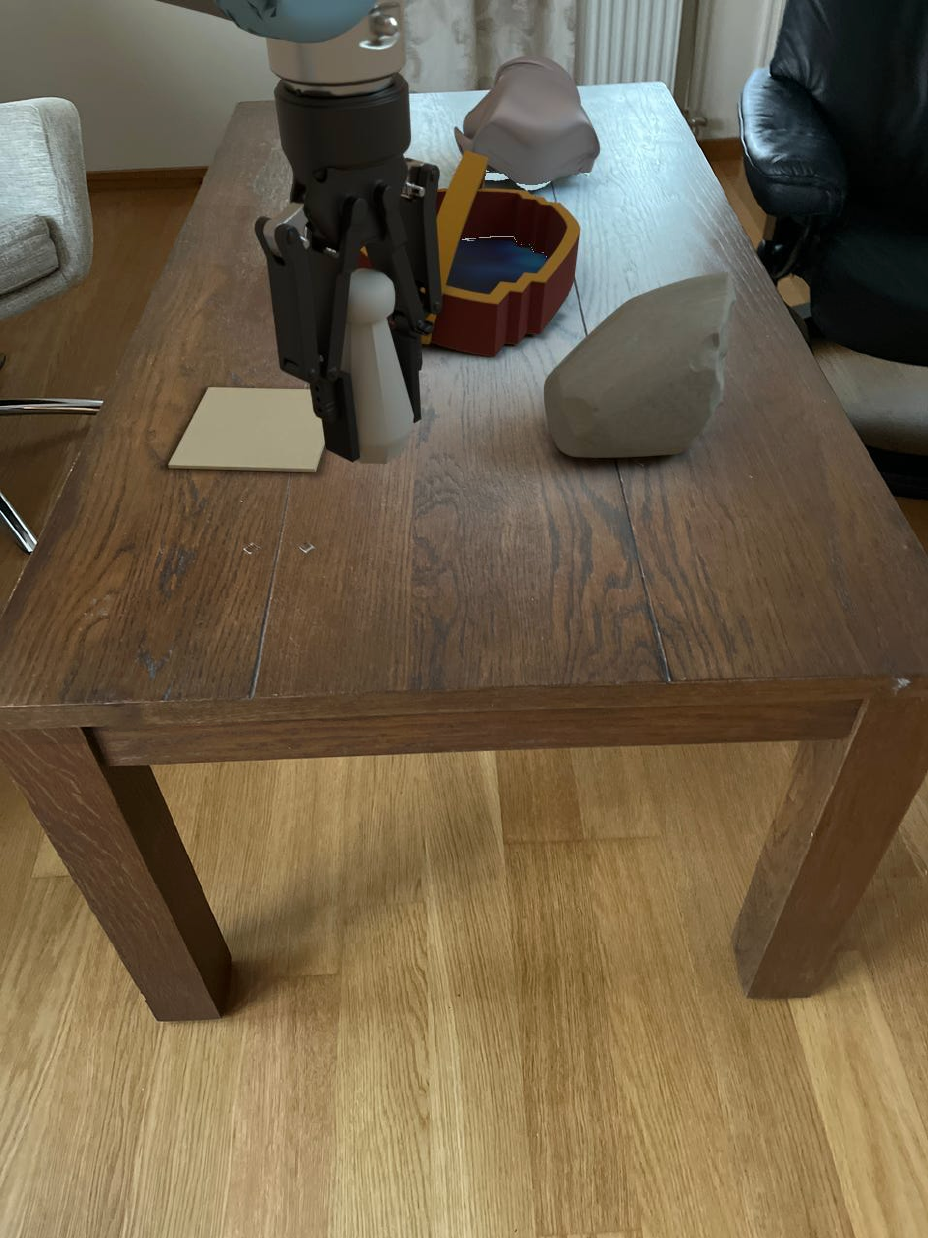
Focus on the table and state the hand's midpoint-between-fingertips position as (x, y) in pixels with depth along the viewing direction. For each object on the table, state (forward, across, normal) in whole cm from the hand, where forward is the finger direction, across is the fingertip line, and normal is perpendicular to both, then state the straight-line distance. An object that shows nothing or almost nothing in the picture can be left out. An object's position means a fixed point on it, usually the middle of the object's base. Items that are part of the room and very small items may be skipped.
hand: (374, 433), depth 69 cm
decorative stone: (+13, +29, -5) cm, 32 cm away
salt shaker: (+2, 0, 0) cm, 2 cm away
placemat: (+13, +8, +25) cm, 29 cm away
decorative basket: (+13, +43, +29) cm, 53 cm away
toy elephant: (+13, +76, +44) cm, 88 cm away
